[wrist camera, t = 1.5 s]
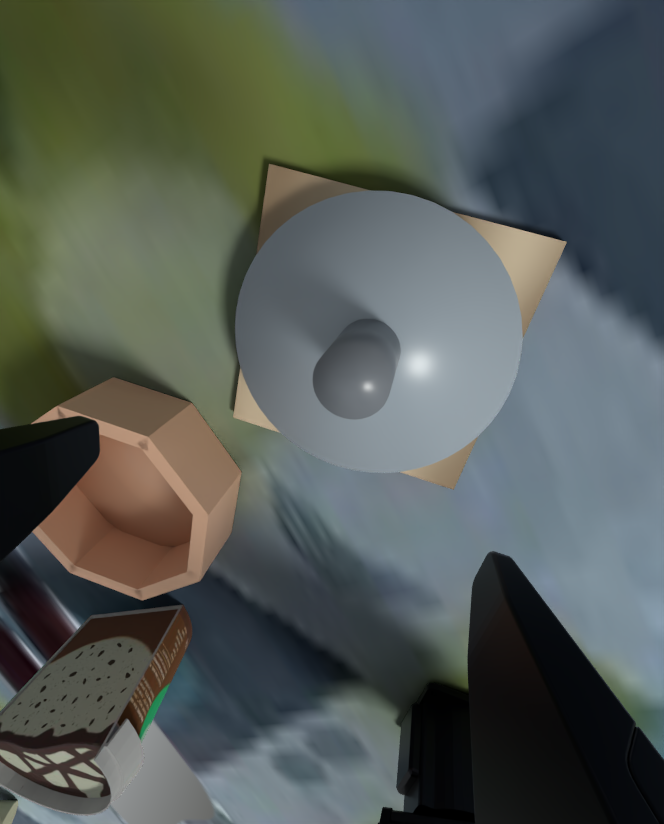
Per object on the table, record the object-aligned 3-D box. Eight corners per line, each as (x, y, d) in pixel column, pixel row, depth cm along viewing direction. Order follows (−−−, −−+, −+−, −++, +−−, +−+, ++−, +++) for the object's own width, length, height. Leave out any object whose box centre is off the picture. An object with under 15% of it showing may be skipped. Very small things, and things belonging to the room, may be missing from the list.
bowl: (249, 421, 23) (215, 459, 20) (225, 570, 29) (195, 620, 25) (59, 359, 24) (-5, 384, 21) (70, 513, 30) (20, 554, 26)
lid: (574, 238, 16) (624, 248, 12) (455, 493, 22) (459, 565, 17) (265, 156, 17) (205, 139, 13) (229, 418, 23) (179, 468, 19)
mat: (564, 241, 17) (566, 242, 16) (453, 485, 22) (453, 489, 22) (272, 164, 18) (269, 163, 17) (236, 414, 23) (233, 417, 23)
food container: (117, 668, 37) (15, 812, 28) (77, 616, 35) (-46, 754, 26) (236, 662, 33) (160, 829, 24) (199, 602, 31) (102, 760, 22)
